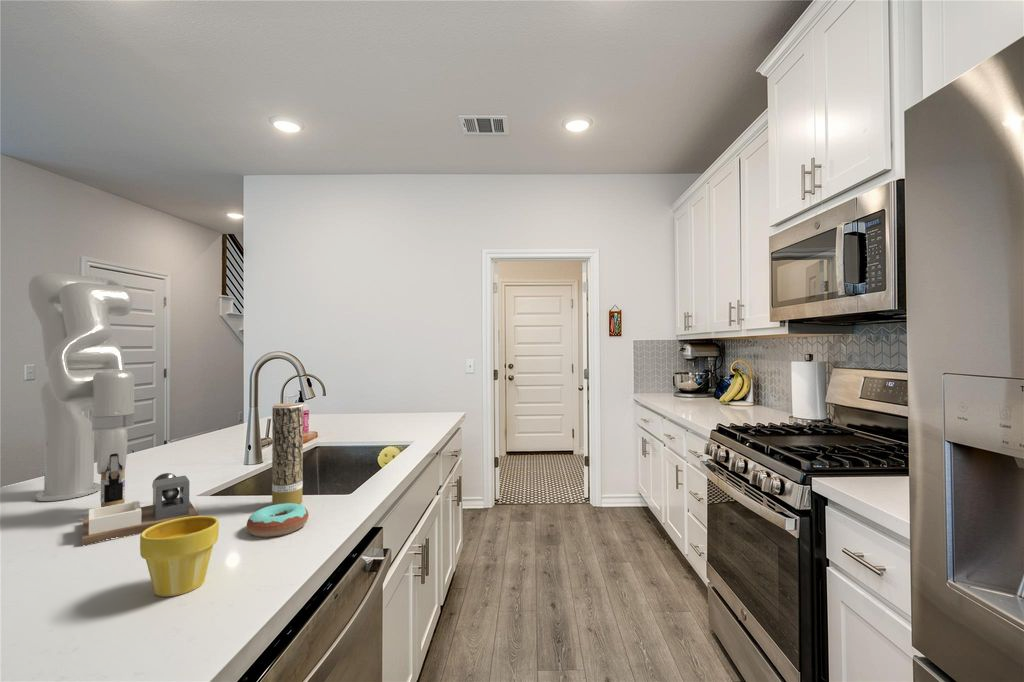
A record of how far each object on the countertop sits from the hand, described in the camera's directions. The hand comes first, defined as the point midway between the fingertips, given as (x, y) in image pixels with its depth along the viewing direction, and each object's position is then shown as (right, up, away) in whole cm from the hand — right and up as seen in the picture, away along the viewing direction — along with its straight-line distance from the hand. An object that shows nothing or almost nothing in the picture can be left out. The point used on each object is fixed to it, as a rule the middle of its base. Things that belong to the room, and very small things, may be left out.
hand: (112, 496), depth 107 cm
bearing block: (+17, -2, -5) cm, 18 cm away
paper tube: (+39, -4, +5) cm, 40 cm away
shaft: (+14, 0, -1) cm, 14 cm away
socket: (+10, -2, -11) cm, 15 cm away
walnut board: (+12, -4, -6) cm, 14 cm away
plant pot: (+41, -3, -33) cm, 53 cm away
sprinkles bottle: (0, -4, 0) cm, 4 cm away
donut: (+44, -4, -9) cm, 45 cm away
